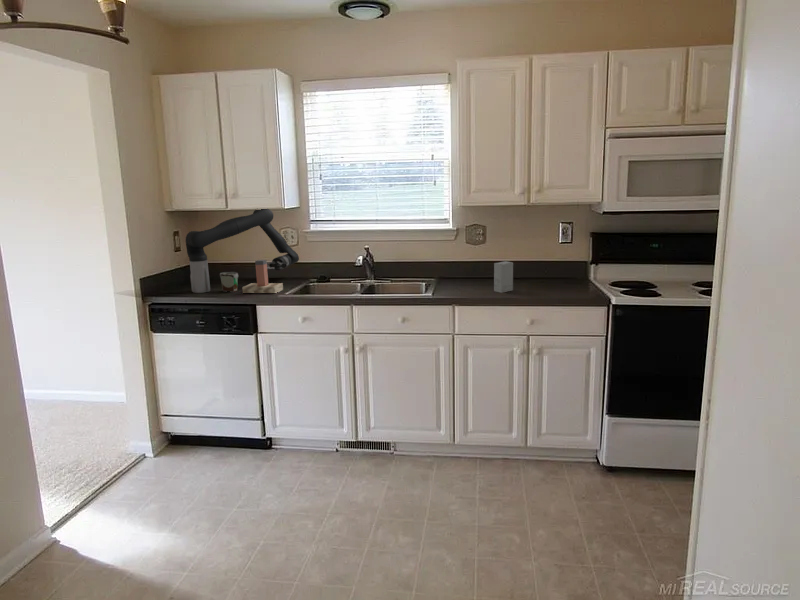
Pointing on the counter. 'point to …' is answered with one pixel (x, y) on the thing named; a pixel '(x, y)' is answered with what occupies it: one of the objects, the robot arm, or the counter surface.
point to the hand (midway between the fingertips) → (269, 267)
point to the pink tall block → (261, 272)
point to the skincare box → (503, 276)
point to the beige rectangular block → (263, 288)
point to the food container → (229, 281)
